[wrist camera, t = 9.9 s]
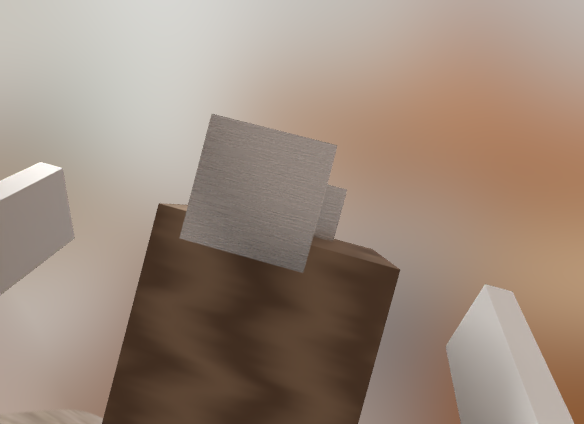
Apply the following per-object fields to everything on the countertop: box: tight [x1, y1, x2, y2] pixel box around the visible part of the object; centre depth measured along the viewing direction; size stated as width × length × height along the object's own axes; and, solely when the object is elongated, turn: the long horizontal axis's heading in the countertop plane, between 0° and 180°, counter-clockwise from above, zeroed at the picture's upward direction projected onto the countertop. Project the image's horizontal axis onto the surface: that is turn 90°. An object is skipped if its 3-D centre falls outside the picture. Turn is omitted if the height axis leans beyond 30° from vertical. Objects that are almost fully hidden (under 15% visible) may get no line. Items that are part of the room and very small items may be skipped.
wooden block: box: [102, 204, 400, 424], centre depth 26 cm, size 14×10×28 cm
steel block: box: [180, 114, 347, 273], centre depth 21 cm, size 7×20×4 cm, turn 175°
